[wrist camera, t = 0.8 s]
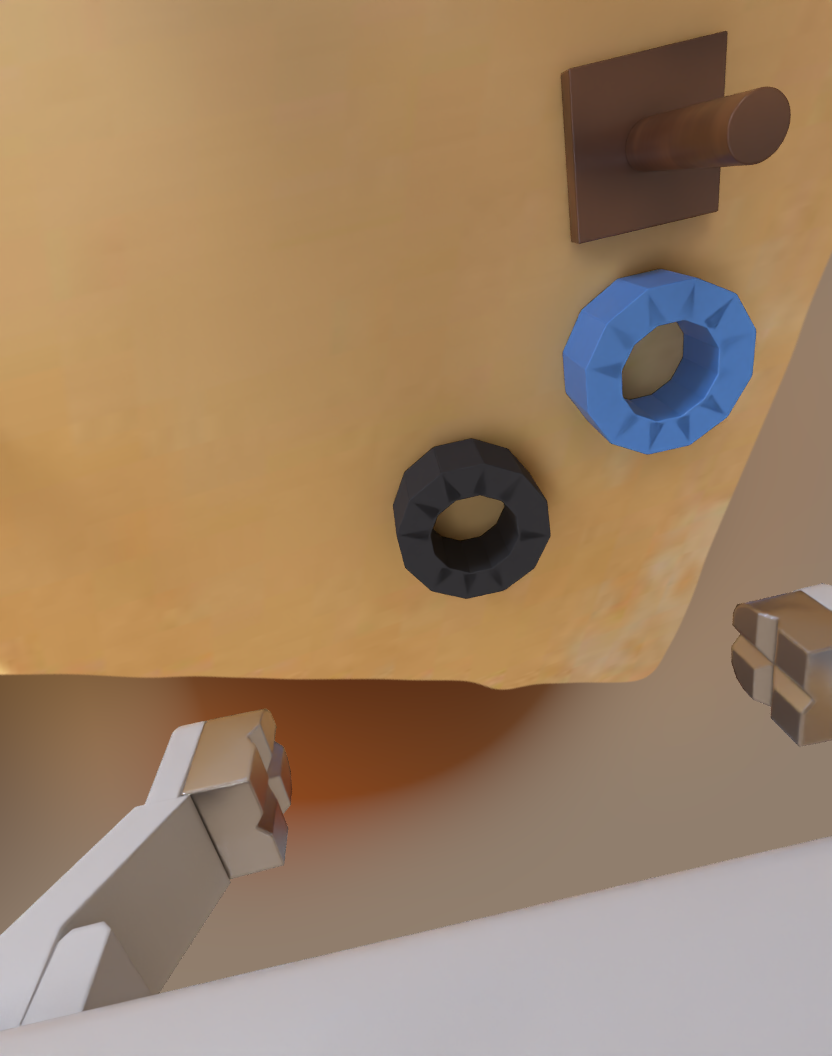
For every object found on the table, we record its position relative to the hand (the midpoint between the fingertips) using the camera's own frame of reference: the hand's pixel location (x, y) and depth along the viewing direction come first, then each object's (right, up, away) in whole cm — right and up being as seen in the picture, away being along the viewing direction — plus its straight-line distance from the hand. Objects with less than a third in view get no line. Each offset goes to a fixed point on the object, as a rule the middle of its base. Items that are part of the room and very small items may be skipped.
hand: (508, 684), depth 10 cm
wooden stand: (+12, +26, +26) cm, 39 cm away
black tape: (+2, +5, +37) cm, 38 cm away
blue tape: (+15, +15, +32) cm, 39 cm away
